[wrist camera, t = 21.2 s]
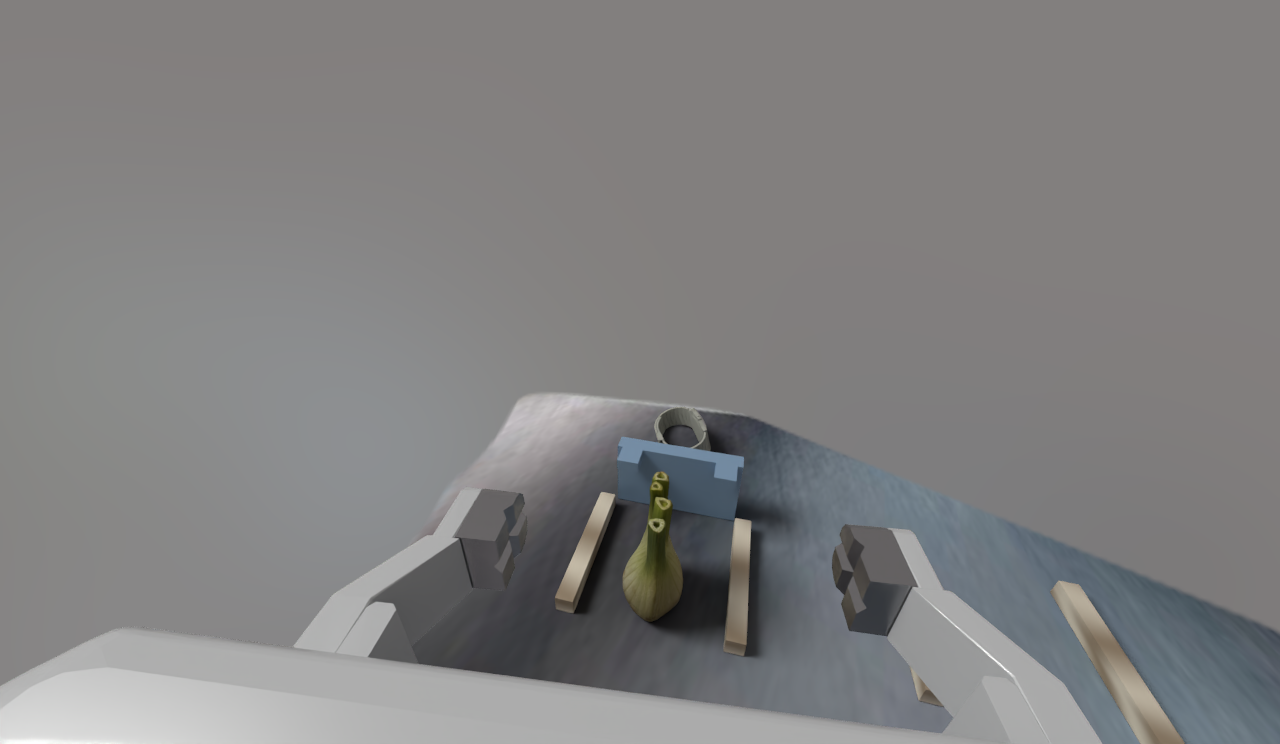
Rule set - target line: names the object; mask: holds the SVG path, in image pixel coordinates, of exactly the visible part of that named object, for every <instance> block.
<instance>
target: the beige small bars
mask: <svg viewBox="0 0 1280 744" xmlns="http://www.w3.org/2000/svg"><path fill="white" fill-rule="evenodd" d="M615 505H616V504H615V494H609V493H604V492H601V494H600V496H599V498H598V501H597V503H596V505H595V507H594V510H593V512H592V514H591V516H590V519H589V521H588V523H587V526H586V528H585V530H584V532H583V535H582V537H581V539H580V542H579V544H578V546H577V548H576V551H575V553H574V555H573V558H572V560H571V562H570V564H569V567H568V569H567V571H566V573H565V576H564V578H563V580H562V583H561V585H560V587H559V589H558V592H557V594H556V596H555V603H556V609H557V610H561V611H565V612H569V613H573V614H574V611H575V609H576V606H577V604H578V601H579V598H580V596H581V593H582V591H583V588H584V585H585V583H586V580H587V578H588V575H589V573H590V570H591V567H592V565H593V562H594V560H595V557H596V554H597V552H598V549H599V547H600V544H601V542H602V539H603V536H604V534H605V531H606V529H607V526H608V523H609V521H610V518H611V516H612V513H613V511H614V508H615ZM750 538H751V521H748V520H743V519H738V518H735V522H734V528H733V539H732V552H731V564H730V577H729V589H728V602H727V614H726V627H725V639H724V652H728V653H732V654H736V655H740V656H744V653H745V649H746V644H747V617H748V591H749V564H750ZM1050 592H1051V594H1052V596H1053V597H1054V599H1055V601H1056V602H1057V604H1058V606H1059V608H1060V609H1061V611H1062V613H1063V614H1064V616H1065V618H1066V619H1067V621H1068V623H1069V624H1070V626H1071V628H1072V629H1073V631H1074V633H1075V634H1076V636H1077V638H1078V639H1079V641H1080V643H1081V644H1082V646H1083V648H1084V650H1085V651H1086V653H1087V655H1088V656H1089V658H1090V660H1091V661H1092V663H1093V665H1094V666H1095V668H1096V670H1097V671H1098V673H1099V675H1100V676H1101V678H1102V680H1103V681H1104V683H1105V685H1106V686H1107V688H1108V690H1109V692H1110V693H1111V695H1112V697H1113V698H1114V700H1115V702H1116V703H1117V705H1118V707H1119V708H1120V710H1121V712H1122V713H1123V715H1124V717H1125V718H1126V720H1127V722H1128V723H1129V725H1130V727H1131V728H1132V730H1133V732H1134V734H1135V735H1136V737H1137V739H1138V740H1139V742H1140V744H1185V743H1184V742H1183V740H1182V739H1181V737H1180V736H1179V734H1178V733H1177V731H1176V730H1175V728H1174V727H1173V725H1172V724H1171V722H1170V721H1169V719H1168V718H1167V716H1166V715H1165V713H1164V712H1163V710H1162V709H1161V707H1160V706H1159V704H1158V703H1157V701H1156V700H1155V698H1154V696H1153V695H1152V693H1151V692H1150V690H1149V689H1148V687H1147V686H1146V684H1145V683H1144V681H1143V680H1142V678H1141V677H1140V675H1139V674H1138V672H1137V671H1136V669H1135V668H1134V666H1133V665H1132V663H1131V662H1130V660H1129V659H1128V657H1127V656H1126V654H1125V653H1124V651H1123V650H1122V648H1121V647H1120V645H1119V644H1118V642H1117V641H1116V639H1115V638H1114V636H1113V635H1112V633H1111V632H1110V630H1109V629H1108V627H1107V626H1106V624H1105V623H1104V621H1103V620H1102V618H1101V617H1100V615H1099V614H1098V612H1097V611H1096V609H1095V608H1094V606H1093V605H1092V603H1091V602H1090V600H1089V599H1088V597H1087V596H1086V594H1085V593H1084V591H1083V590H1082V588H1081V587H1080V585H1078V584H1073V583H1068V582H1063V581H1058V582H1057V583H1056V585H1055V586H1054V587H1053V589H1052V590H1051V591H1050ZM910 669H911V673H912V677H913V680H914V684H915V688H916V692H917V696H918V700H919V701H922V702H926V703H930V704H934V705H938V706H942V707H943V705H942V703H941V702H940V701H939V700H938V699H937V698H936V696H935V695H934V694H933V693H932V692H931V690H930V689H929V688H928V687H927V686H926V684H925V683H924V682H923V681H922V680H921V678H920V677H919V676H918V675H917V674H916V672H915V671H914V670H913V669H912V668H911V666H910Z"/></svg>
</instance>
